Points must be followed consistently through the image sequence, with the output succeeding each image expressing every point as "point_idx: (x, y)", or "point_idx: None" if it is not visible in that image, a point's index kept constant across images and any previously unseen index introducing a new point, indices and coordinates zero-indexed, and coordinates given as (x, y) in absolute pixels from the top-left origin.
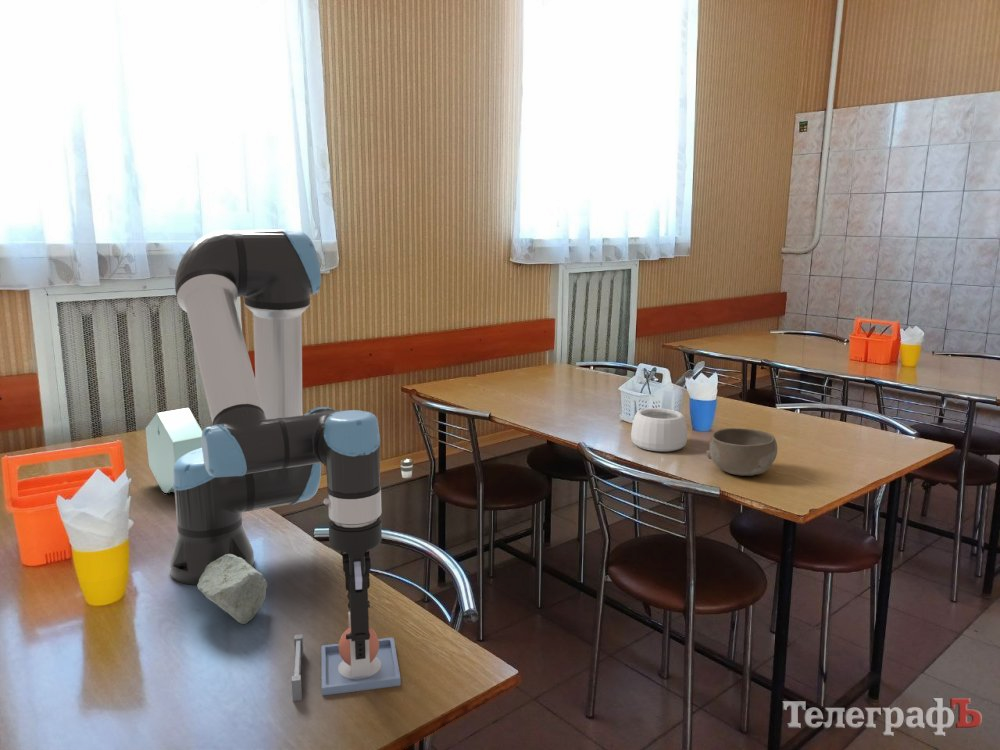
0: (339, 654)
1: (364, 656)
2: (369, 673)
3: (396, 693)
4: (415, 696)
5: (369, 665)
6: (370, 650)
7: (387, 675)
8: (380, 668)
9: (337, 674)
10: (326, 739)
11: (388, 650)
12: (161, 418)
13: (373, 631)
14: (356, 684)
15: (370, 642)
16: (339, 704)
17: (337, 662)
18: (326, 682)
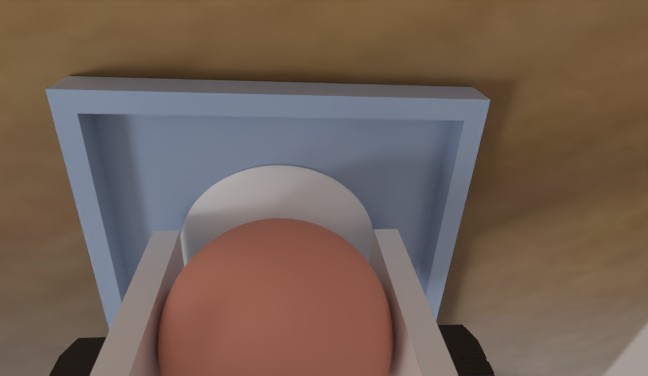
0: None
1: (473, 342)
2: (400, 236)
3: (520, 113)
4: (589, 25)
5: (409, 262)
6: (384, 299)
7: (387, 144)
8: (319, 170)
9: None
10: (630, 334)
11: (152, 117)
12: None
13: (271, 330)
14: (445, 279)
15: (371, 329)
16: (484, 307)
17: None
18: None
